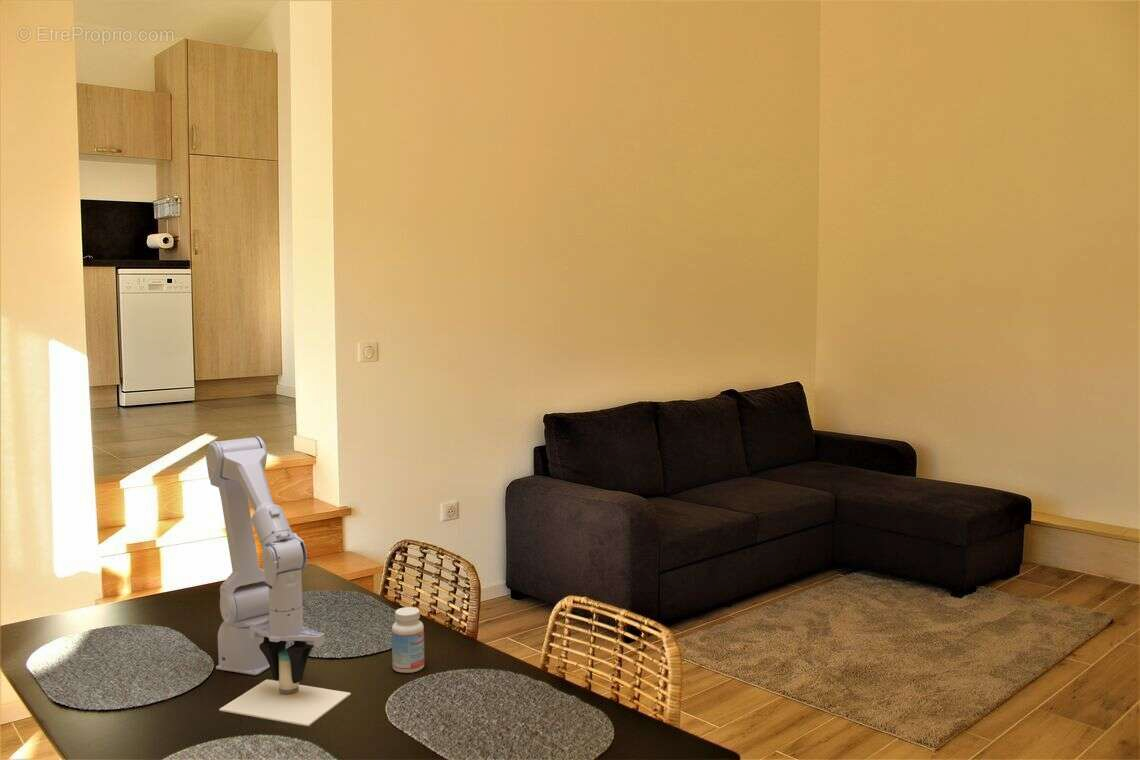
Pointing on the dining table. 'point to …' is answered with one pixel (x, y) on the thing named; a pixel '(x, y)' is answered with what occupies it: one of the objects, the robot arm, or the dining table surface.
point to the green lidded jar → (286, 674)
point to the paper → (285, 703)
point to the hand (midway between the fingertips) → (288, 679)
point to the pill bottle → (407, 641)
